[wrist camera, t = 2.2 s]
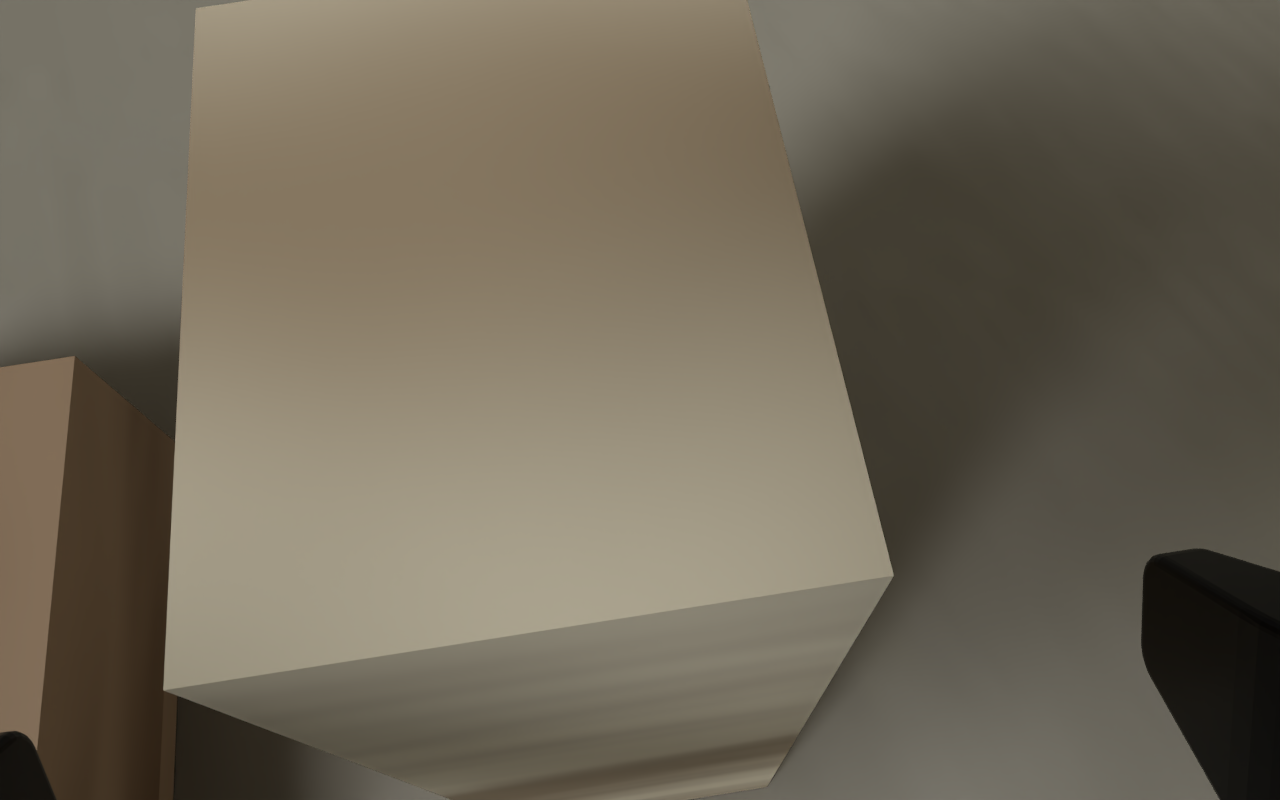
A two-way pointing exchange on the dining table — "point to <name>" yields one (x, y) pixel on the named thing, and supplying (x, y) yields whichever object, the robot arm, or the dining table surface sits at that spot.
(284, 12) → the cream wooden block
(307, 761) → the dining table surface
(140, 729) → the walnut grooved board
